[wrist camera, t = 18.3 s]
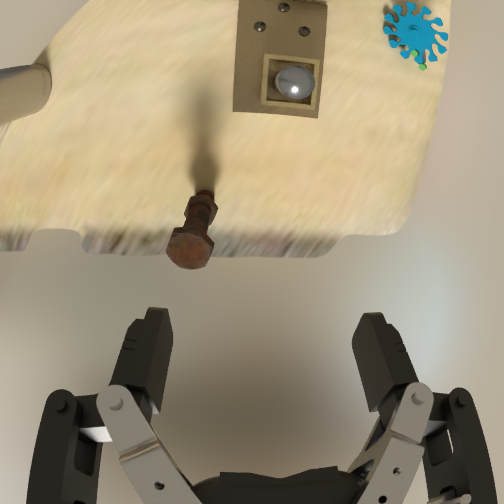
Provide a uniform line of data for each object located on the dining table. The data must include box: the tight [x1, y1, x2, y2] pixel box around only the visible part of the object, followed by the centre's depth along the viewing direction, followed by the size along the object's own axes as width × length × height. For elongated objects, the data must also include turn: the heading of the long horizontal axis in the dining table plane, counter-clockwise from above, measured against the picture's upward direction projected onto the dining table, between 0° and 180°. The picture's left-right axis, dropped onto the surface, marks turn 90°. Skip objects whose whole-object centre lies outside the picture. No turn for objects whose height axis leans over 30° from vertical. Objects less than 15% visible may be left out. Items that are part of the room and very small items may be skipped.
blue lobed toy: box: [384, 2, 448, 71], centre depth 26 cm, size 11×6×10 cm
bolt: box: [166, 190, 218, 269], centre depth 38 cm, size 6×5×15 cm
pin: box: [273, 65, 315, 99], centre depth 29 cm, size 4×4×12 cm
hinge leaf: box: [233, 0, 327, 119], centre depth 30 cm, size 12×18×5 cm, turn 177°
